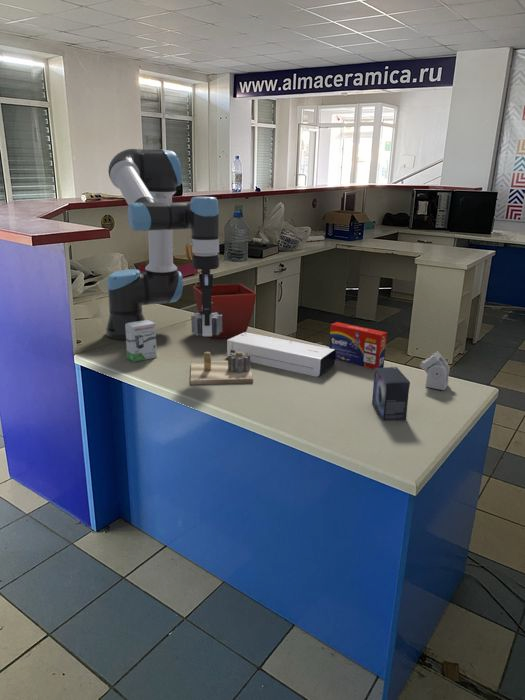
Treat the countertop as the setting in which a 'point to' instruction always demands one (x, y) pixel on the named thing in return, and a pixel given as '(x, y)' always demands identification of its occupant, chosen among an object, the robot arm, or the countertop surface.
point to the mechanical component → (436, 371)
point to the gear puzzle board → (222, 370)
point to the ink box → (141, 340)
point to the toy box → (358, 345)
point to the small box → (390, 393)
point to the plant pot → (230, 307)
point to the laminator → (283, 353)
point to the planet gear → (197, 323)
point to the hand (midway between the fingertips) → (207, 331)
